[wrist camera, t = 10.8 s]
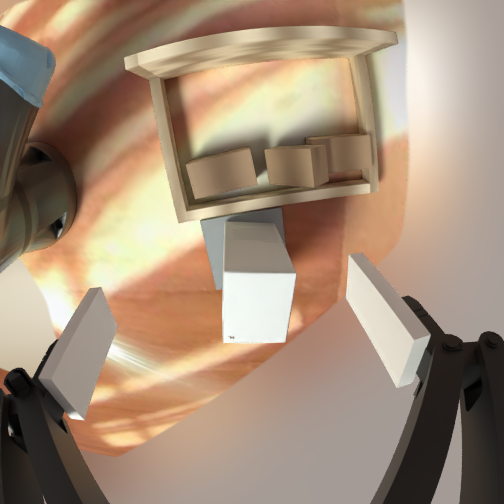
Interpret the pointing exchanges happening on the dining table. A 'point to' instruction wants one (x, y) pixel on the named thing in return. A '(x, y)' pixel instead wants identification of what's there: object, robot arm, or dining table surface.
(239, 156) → the offcut
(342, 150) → the offcut
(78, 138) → the dining table surface
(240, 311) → the small box
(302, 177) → the offcut
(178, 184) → the tray
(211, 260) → the mat
